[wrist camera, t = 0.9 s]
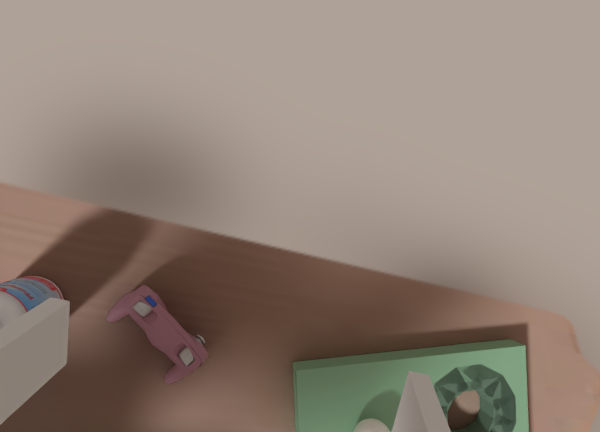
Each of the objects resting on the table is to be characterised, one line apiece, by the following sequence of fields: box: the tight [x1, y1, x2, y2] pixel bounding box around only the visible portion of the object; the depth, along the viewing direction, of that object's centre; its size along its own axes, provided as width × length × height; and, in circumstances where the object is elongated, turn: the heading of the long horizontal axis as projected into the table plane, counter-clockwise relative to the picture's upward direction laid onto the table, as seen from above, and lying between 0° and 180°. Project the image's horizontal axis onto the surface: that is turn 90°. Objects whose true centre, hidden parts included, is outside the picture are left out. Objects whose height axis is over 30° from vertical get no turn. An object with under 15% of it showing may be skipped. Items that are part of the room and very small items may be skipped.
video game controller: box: [106, 285, 209, 384], centre depth 39 cm, size 10×5×7 cm, turn 40°
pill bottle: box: [0, 276, 64, 329], centre depth 34 cm, size 6×6×11 cm
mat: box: [293, 339, 529, 432], centre depth 45 cm, size 26×14×2 cm, turn 92°
